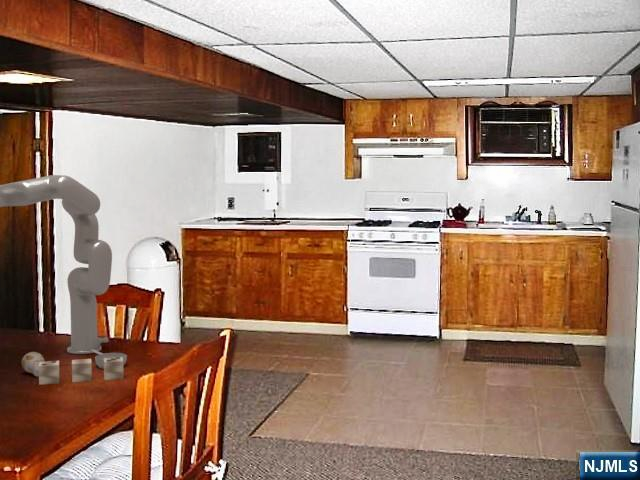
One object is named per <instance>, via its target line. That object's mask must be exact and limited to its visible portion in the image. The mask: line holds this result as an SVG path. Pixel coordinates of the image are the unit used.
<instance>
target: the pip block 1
mask: <svg viewBox="0 0 640 480" xmlns="http://www.w3.org/2000/svg"><path fill="white" fill-rule="evenodd" d="M59 383H60V360H48V361H44V362H40V363H39V377H38V385H39V386H40V385H41V386H42V385H53V384H54V385H55V384H56V385H57V384H59Z"/></svg>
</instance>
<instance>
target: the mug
mask: <svg viewBox="0 0 640 480" xmlns="http://www.w3.org/2000/svg"><path fill="white" fill-rule="evenodd" d="M40 362H45V358H44V356H43V355H42V354H41V353H39V352H37V351H30V352H28V353H26V354H25V355H23V357H22V359H21V362H20V363H21V367H22V368H23V370H24V371H25V372H27V373H30V374H31V375H32V374H33V376H35V377H37V378H39V363H40Z"/></svg>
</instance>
